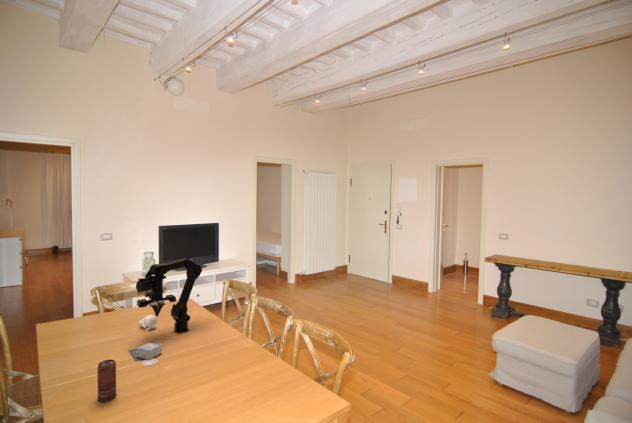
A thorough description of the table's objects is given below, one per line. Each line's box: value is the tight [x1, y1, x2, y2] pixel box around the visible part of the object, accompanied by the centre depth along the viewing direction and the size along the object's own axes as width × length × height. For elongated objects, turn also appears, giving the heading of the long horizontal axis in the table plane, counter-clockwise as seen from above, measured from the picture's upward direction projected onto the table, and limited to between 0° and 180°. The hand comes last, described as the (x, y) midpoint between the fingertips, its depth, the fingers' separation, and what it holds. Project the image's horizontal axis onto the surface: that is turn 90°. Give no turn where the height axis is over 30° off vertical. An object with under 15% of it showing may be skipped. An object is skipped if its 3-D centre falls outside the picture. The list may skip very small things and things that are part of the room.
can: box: [97, 359, 117, 403], centre depth 136 cm, size 6×6×14 cm
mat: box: [128, 347, 158, 362], centre depth 174 cm, size 10×14×1 cm
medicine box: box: [136, 342, 163, 360], centre depth 170 cm, size 8×4×9 cm
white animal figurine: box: [138, 314, 158, 332], centre depth 204 cm, size 6×8×12 cm
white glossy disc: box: [140, 357, 159, 368], centre depth 164 cm, size 7×7×1 cm
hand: (156, 316), depth 189 cm, fingers closed
